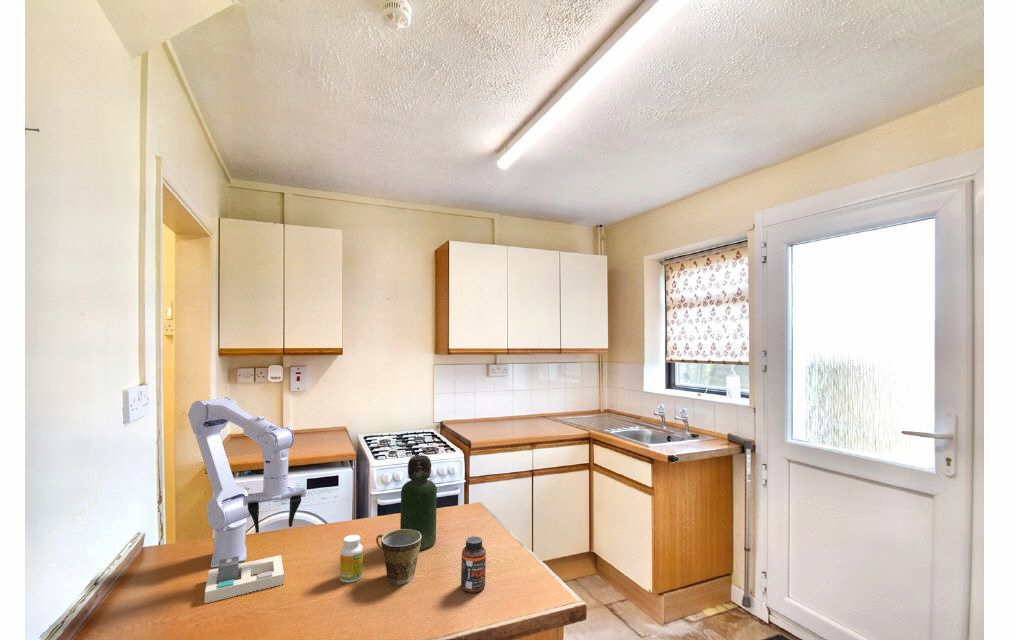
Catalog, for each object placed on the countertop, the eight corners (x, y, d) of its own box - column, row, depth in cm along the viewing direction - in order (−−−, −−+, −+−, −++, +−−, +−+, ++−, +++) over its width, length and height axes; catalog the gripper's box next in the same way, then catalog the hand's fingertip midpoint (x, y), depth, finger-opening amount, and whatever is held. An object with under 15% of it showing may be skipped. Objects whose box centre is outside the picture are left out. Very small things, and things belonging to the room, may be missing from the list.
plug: (218, 585, 107) (219, 558, 107) (237, 581, 109) (239, 554, 109) (217, 593, 103) (218, 566, 104) (237, 589, 105) (238, 562, 106)
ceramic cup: (428, 572, 113) (429, 533, 114) (404, 592, 104) (405, 549, 105) (388, 561, 119) (389, 524, 119) (362, 579, 110) (363, 538, 110)
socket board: (208, 580, 109) (208, 568, 109) (280, 564, 117) (281, 553, 117) (204, 603, 99) (205, 590, 99) (283, 584, 107) (283, 572, 107)
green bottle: (394, 541, 131) (396, 456, 132) (426, 532, 137) (427, 451, 139) (408, 554, 123) (410, 464, 124) (442, 545, 129) (443, 458, 130)
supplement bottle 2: (472, 597, 103) (473, 547, 103) (455, 587, 107) (456, 539, 107) (490, 586, 107) (491, 539, 108) (473, 577, 111) (474, 532, 112)
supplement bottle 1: (355, 584, 108) (356, 543, 108) (335, 581, 109) (336, 541, 109) (366, 573, 113) (367, 534, 113) (347, 570, 114) (348, 532, 114)
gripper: (243, 484, 109) (241, 540, 108) (307, 475, 116) (305, 528, 115) (244, 476, 115) (241, 529, 114) (304, 468, 122) (303, 518, 121)
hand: (274, 528), depth 115 cm, fingers open, 7 cm apart
